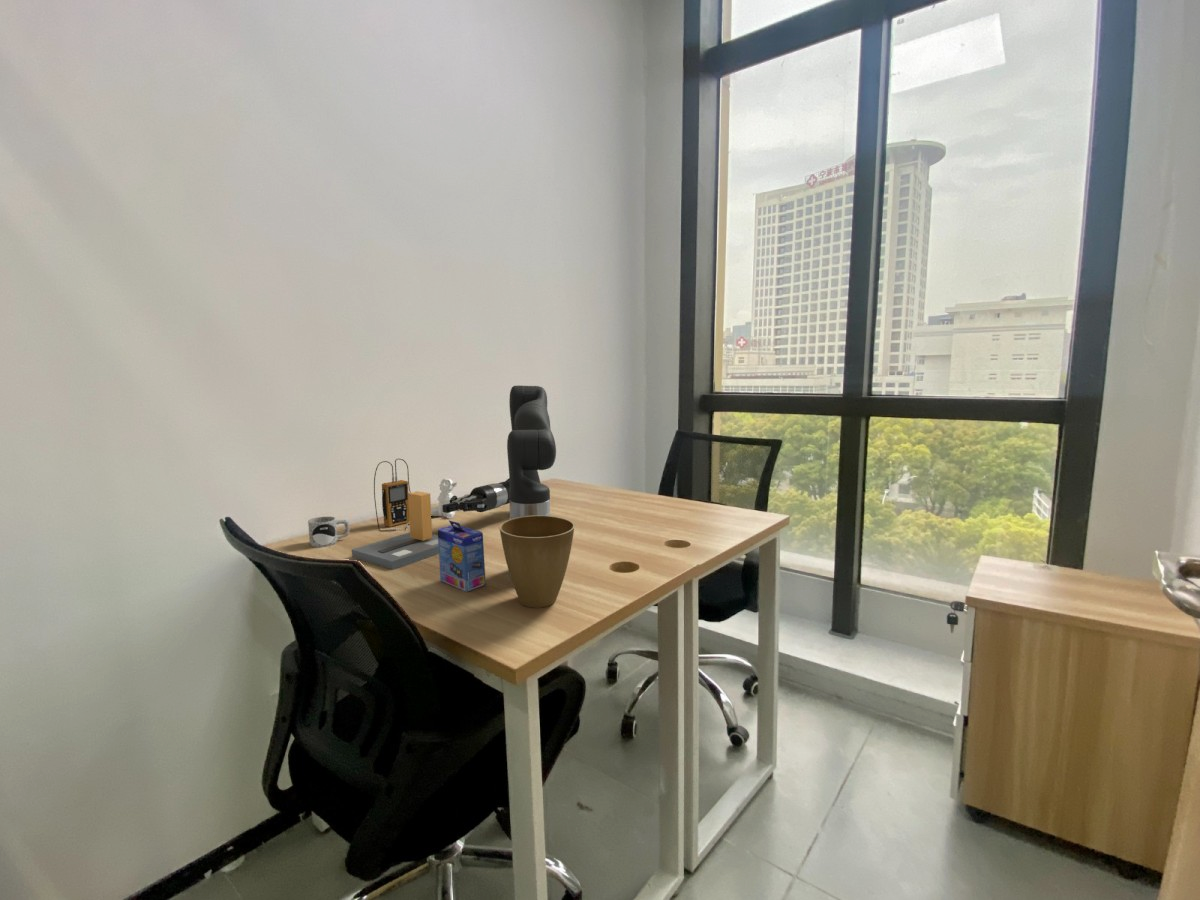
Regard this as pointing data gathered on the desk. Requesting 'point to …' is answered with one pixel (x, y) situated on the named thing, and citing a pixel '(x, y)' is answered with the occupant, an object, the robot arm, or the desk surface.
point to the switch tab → (420, 515)
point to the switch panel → (397, 551)
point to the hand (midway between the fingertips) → (444, 509)
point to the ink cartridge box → (461, 557)
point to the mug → (325, 531)
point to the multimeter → (394, 501)
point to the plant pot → (537, 556)
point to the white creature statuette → (444, 498)
